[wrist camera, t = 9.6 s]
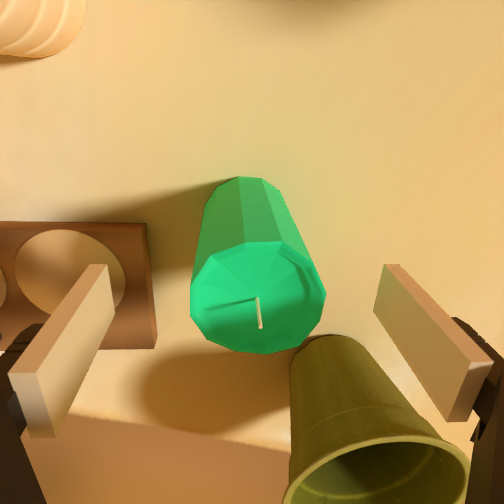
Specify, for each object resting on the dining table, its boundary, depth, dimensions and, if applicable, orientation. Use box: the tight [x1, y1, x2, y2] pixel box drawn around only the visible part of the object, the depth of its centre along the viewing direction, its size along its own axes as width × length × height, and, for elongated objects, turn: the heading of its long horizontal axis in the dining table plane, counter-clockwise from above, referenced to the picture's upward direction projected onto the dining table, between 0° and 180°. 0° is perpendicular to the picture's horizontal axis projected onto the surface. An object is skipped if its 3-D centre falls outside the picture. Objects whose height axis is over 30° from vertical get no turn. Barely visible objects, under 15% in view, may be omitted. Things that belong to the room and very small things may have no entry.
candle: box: [190, 177, 326, 354], centre depth 19 cm, size 6×6×12 cm
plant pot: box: [282, 335, 471, 504], centre depth 26 cm, size 12×12×11 cm
